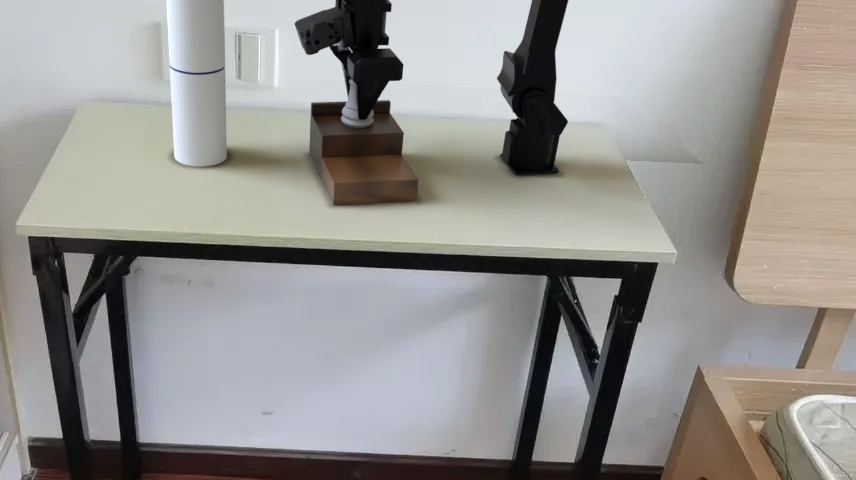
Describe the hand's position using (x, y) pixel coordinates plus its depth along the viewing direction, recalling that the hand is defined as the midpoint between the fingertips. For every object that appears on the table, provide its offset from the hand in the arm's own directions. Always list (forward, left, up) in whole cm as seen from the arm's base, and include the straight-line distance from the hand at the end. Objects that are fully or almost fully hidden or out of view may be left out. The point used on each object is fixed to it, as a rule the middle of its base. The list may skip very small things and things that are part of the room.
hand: (357, 111), depth 128 cm
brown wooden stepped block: (0, +4, -8) cm, 8 cm away
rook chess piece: (0, 0, -2) cm, 2 cm away
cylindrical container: (+21, -5, -8) cm, 23 cm away
